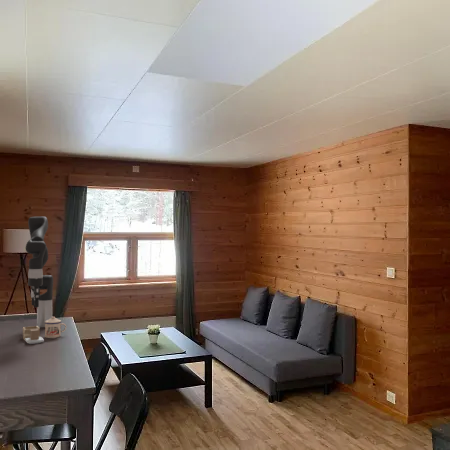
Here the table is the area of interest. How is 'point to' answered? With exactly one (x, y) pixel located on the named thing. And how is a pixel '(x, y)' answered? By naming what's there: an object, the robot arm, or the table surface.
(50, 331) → the teacup with lid
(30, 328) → the box
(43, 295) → the robot arm
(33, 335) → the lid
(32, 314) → the table surface
